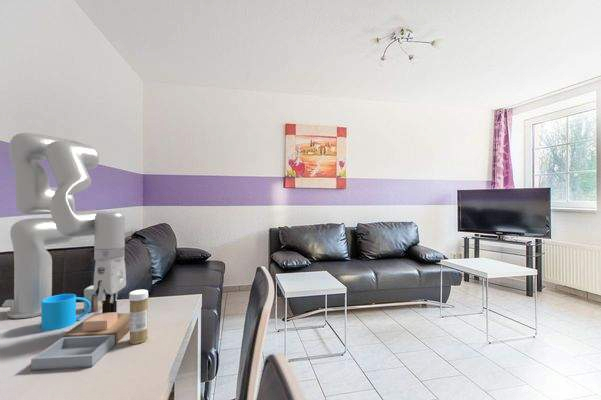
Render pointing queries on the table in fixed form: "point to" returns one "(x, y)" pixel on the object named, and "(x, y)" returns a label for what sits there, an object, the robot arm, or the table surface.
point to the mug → (60, 311)
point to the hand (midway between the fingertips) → (109, 315)
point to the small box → (92, 299)
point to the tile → (100, 321)
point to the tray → (73, 352)
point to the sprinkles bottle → (138, 316)
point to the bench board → (116, 329)
